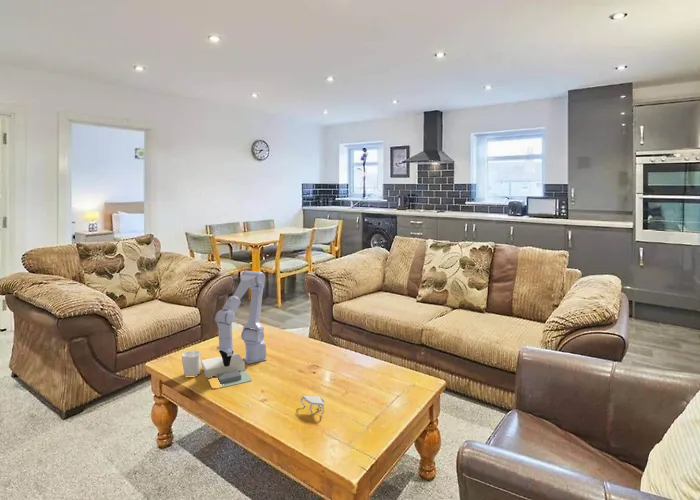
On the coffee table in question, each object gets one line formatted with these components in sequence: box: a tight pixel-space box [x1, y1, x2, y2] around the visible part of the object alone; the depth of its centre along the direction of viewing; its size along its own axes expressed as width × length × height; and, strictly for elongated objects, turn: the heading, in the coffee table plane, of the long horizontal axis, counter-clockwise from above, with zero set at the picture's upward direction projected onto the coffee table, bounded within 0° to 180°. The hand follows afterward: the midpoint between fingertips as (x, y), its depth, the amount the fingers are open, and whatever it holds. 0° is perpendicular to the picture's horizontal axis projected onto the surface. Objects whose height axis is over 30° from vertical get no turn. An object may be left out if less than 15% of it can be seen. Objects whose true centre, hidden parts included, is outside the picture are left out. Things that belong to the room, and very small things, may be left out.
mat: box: [222, 370, 253, 388], centre depth 184 cm, size 17×11×1 cm, turn 119°
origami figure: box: [300, 395, 325, 417], centre depth 159 cm, size 12×8×5 cm
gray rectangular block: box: [216, 370, 241, 384], centre depth 184 cm, size 9×6×2 cm, turn 119°
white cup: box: [181, 350, 202, 377], centre depth 188 cm, size 8×8×10 cm
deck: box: [201, 352, 246, 378], centre depth 194 cm, size 17×12×4 cm
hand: (226, 365), depth 187 cm, fingers closed
